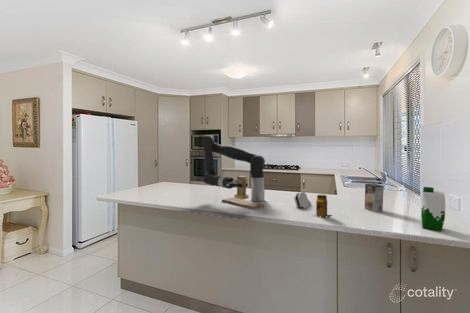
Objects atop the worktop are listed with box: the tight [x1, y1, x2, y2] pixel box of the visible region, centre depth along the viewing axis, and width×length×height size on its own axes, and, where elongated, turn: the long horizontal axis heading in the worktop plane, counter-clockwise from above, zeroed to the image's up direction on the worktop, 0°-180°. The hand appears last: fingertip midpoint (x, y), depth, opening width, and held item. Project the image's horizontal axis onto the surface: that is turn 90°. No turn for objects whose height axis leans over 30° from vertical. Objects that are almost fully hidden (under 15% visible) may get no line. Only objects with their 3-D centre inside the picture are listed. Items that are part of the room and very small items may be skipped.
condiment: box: [315, 194, 328, 218], centre depth 146 cm, size 7×8×12 cm
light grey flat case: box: [293, 191, 312, 209], centre depth 169 cm, size 17×5×10 cm, turn 149°
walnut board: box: [221, 197, 264, 210], centre depth 174 cm, size 10×30×2 cm, turn 46°
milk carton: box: [421, 186, 446, 233], centre depth 123 cm, size 9×9×20 cm
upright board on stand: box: [233, 175, 249, 200], centre depth 160 cm, size 6×7×14 cm
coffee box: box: [364, 183, 385, 213], centre depth 157 cm, size 9×6×16 cm
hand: (244, 185), depth 158 cm, fingers closed on upright board on stand, 4 cm apart
